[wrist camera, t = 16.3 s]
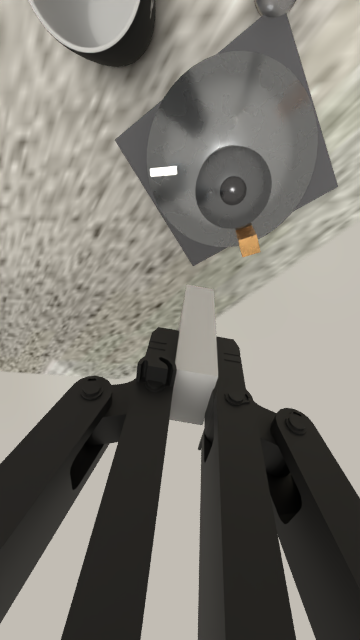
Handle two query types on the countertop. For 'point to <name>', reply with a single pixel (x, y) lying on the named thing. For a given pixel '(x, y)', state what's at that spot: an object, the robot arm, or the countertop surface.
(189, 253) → the turntable base
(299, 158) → the turntable
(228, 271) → the countertop surface
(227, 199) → the cover
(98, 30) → the mug
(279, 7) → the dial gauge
